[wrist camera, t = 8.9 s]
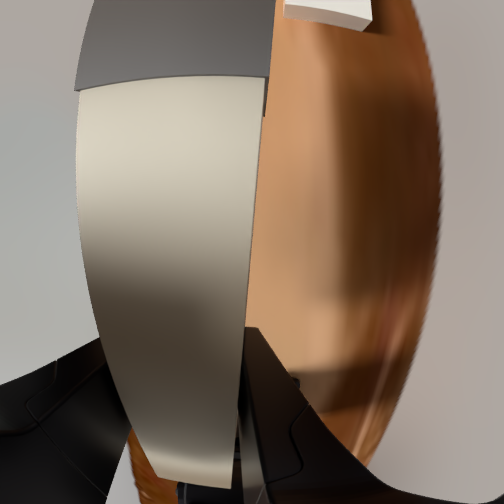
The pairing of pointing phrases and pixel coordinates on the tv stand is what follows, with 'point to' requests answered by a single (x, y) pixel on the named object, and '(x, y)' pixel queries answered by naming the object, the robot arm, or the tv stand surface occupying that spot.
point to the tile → (331, 12)
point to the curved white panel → (173, 213)
